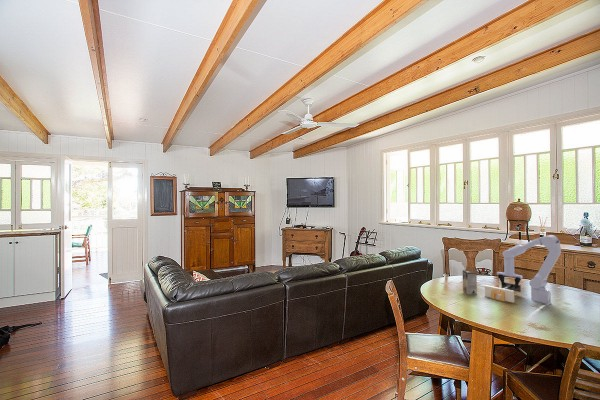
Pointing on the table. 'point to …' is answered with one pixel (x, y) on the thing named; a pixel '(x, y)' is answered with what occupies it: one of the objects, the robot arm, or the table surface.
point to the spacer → (498, 293)
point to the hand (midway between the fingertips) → (509, 287)
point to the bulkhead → (508, 294)
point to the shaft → (511, 287)
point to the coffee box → (469, 282)
